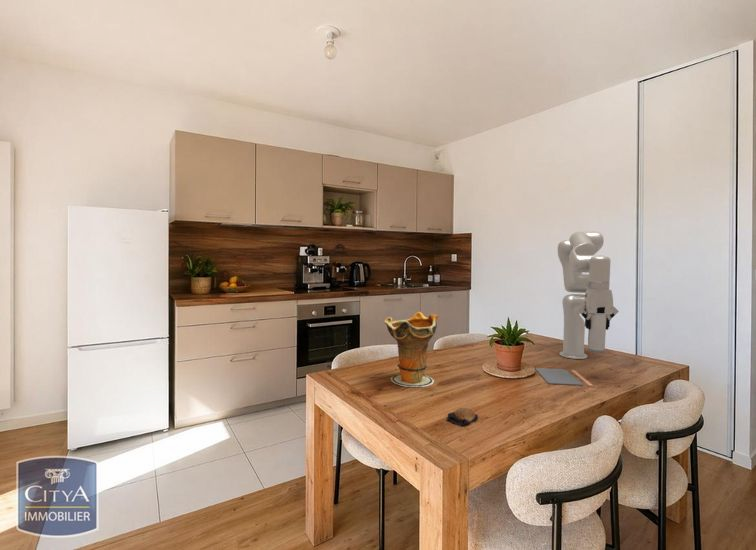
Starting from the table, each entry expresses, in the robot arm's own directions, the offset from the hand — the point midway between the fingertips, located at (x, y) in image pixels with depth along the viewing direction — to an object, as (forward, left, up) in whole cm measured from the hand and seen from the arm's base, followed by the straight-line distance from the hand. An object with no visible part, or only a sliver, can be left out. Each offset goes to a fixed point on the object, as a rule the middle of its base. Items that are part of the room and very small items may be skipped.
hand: (596, 328), depth 160 cm
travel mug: (0, 0, -10) cm, 10 cm away
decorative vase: (+15, -76, -21) cm, 80 cm away
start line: (+2, -6, -21) cm, 22 cm away
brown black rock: (+49, -58, -22) cm, 79 cm away
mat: (+2, -16, -21) cm, 26 cm away
